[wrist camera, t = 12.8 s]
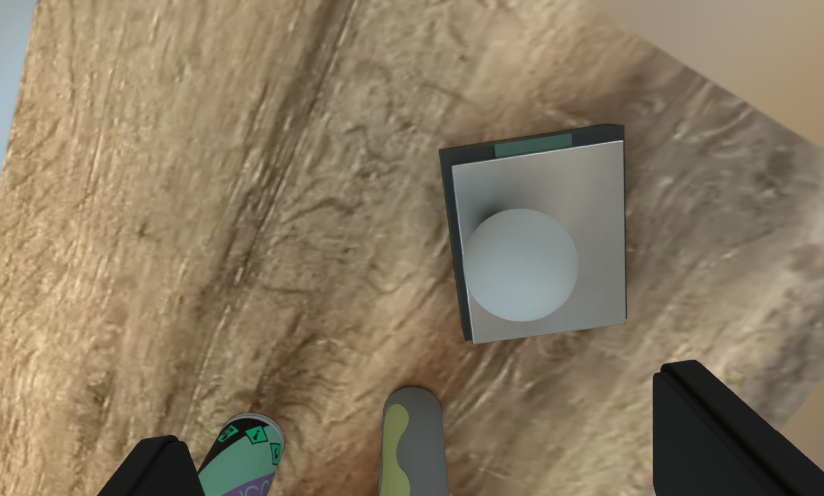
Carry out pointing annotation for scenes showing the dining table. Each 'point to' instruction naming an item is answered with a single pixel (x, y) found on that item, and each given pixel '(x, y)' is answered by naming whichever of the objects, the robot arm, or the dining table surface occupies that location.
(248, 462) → the spray can
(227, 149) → the dining table surface
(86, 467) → the dining table surface
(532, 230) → the light bulb
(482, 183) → the scale
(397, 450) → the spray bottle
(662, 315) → the dining table surface
